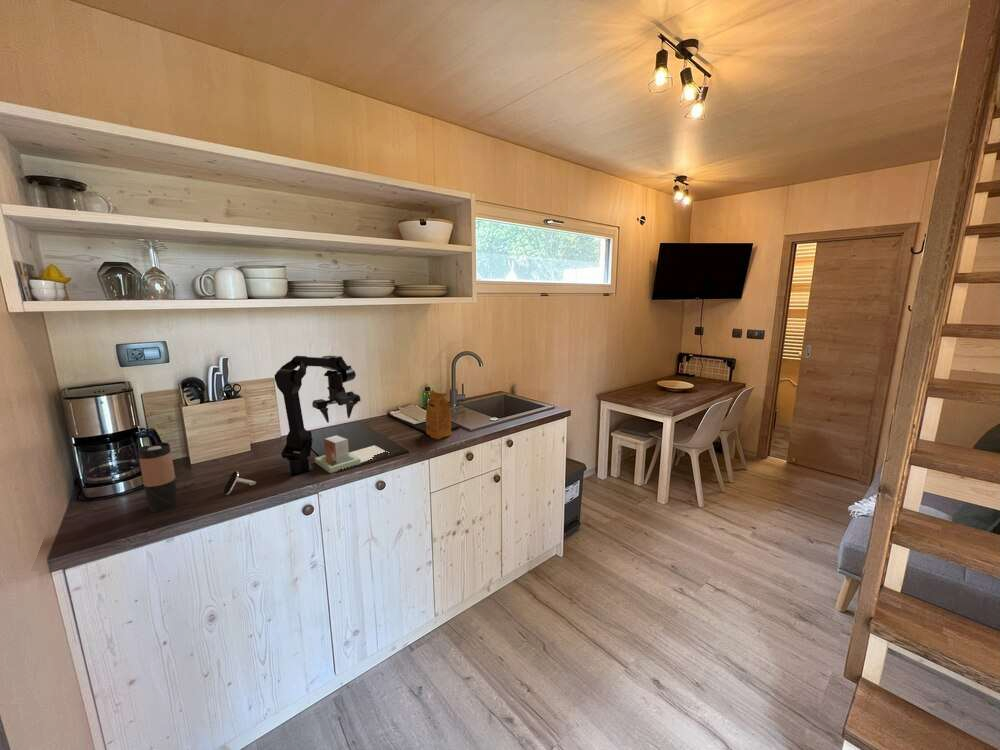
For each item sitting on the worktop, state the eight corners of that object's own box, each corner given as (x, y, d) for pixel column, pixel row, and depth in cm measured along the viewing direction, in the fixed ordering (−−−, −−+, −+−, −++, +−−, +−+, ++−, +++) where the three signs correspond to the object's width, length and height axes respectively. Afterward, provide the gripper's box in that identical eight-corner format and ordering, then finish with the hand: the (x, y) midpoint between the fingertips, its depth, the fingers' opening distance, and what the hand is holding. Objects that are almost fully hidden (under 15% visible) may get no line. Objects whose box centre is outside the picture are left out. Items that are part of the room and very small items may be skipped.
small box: (325, 463, 159) (323, 438, 157) (338, 459, 164) (336, 434, 162) (336, 468, 155) (334, 442, 153) (349, 463, 159) (347, 438, 157)
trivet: (361, 463, 159) (360, 462, 159) (346, 454, 168) (346, 453, 168) (390, 454, 168) (389, 453, 168) (374, 446, 177) (374, 445, 177)
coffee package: (441, 430, 200) (440, 387, 195) (454, 436, 190) (453, 391, 186) (423, 434, 194) (421, 390, 190) (435, 441, 184) (434, 395, 180)
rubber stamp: (226, 496, 132) (238, 473, 134) (222, 492, 135) (234, 469, 137) (249, 501, 138) (261, 478, 139) (245, 496, 141) (256, 474, 143)
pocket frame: (330, 473, 150) (329, 468, 150) (315, 463, 160) (314, 457, 159) (360, 464, 159) (360, 459, 158) (344, 454, 168) (344, 449, 168)
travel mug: (168, 512, 123) (157, 451, 119) (141, 513, 123) (130, 451, 119) (185, 499, 131) (175, 442, 127) (160, 500, 130) (150, 442, 126)
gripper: (321, 391, 157) (324, 429, 160) (365, 384, 171) (367, 419, 174) (310, 387, 165) (313, 423, 168) (353, 380, 178) (355, 414, 181)
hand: (338, 420), depth 172 cm, fingers open, 9 cm apart
